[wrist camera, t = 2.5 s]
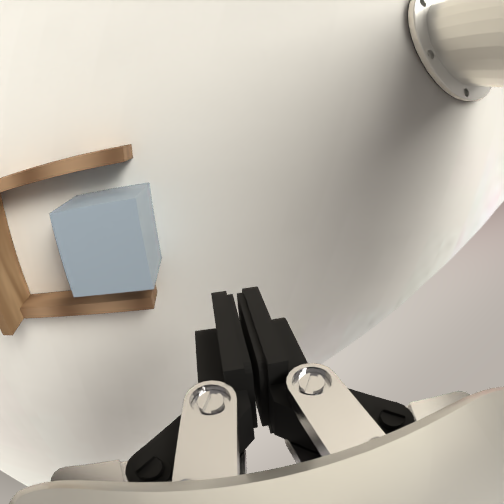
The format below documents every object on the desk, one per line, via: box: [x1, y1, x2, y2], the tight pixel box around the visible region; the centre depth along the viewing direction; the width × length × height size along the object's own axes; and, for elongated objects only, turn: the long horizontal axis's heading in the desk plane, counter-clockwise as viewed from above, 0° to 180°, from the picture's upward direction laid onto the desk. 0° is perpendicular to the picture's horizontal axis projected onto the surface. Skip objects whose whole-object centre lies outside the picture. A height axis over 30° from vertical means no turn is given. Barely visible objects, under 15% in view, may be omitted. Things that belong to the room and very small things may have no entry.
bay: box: [0, 144, 157, 335], centre depth 19 cm, size 14×12×5 cm
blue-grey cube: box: [50, 183, 162, 297], centre depth 19 cm, size 6×6×5 cm
